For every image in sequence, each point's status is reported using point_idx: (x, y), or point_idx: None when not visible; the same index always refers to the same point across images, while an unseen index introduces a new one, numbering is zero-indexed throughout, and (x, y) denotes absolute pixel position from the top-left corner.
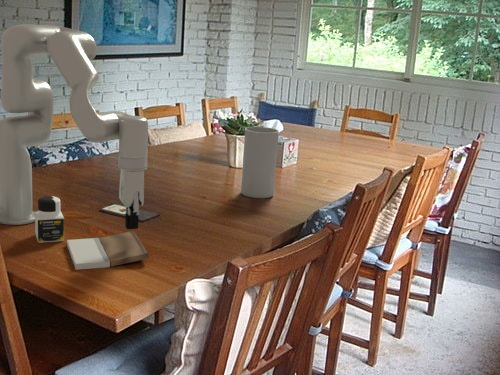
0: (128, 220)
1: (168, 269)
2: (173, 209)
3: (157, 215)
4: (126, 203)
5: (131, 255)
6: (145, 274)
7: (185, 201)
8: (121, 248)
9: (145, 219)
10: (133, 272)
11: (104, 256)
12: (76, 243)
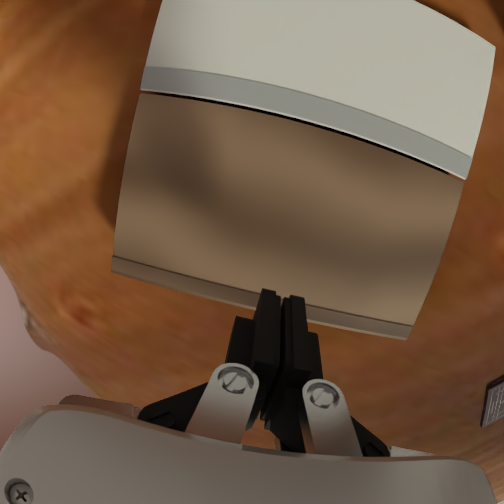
0: (256, 338)
1: (76, 284)
2: (478, 448)
3: (482, 422)
4: (18, 433)
5: (131, 201)
6: (53, 198)
7: (484, 465)
8: (252, 200)
9: (489, 396)
10: (75, 165)
11: (205, 82)
12: (445, 50)
